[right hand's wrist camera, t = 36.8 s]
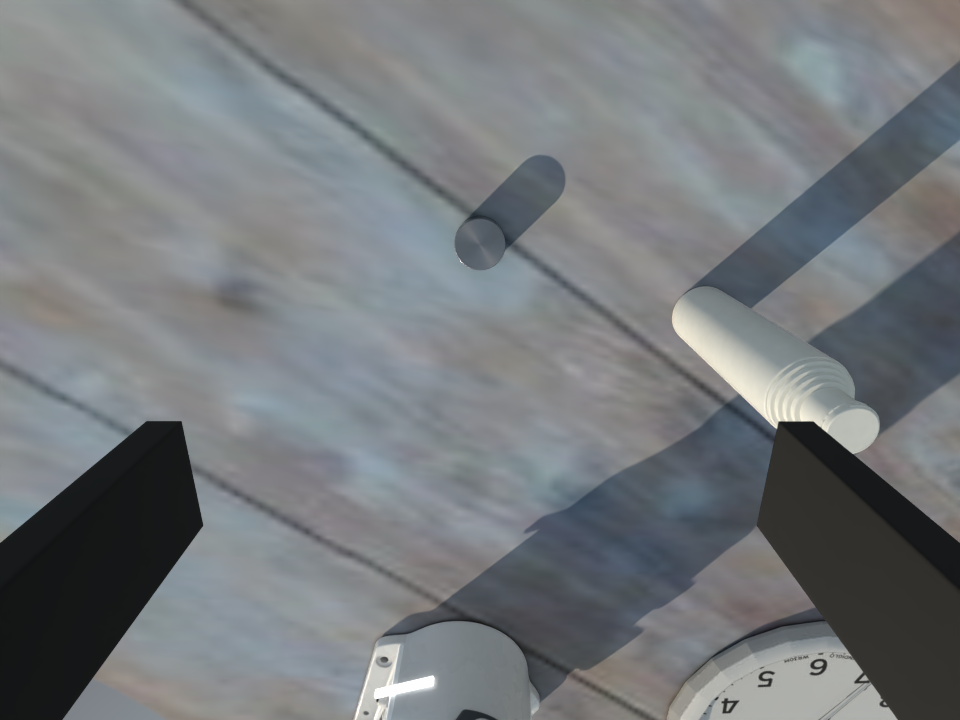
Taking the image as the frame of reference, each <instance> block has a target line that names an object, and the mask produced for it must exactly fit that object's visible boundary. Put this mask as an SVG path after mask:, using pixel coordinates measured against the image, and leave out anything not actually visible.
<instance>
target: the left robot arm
mask: <svg viewBox="0 0 960 720" xmlns="http://www.w3.org/2000/svg"><path fill="white" fill-rule="evenodd" d="M539 707H540V696H539V694H538V692H537V690H536V689H535V687H534V686H533V685H532V683H531V682H530V680H529V675H528V666H527V662H526V659H525V656H524V654H523V652H522V651H521V649H520V648H519V647H518V645H517V644H516V643H515V642H514V641H513V640H512V639H510V638H509V637H508V636H506V635H505V634H504V633H502V632H500V631H498V630H496V629H494V628H492V627H489V626H486V625H483V624H479V623H474V622H467V621H449V622H442V623H437V624H433V625H430V626H427V627H424V628H422V629H419V630H417V631H415V632H412V633H409V634H403V635H391V636H385V637H382V638H380V639H379V640H378V641H377V642H376V645H375V648H374V651H373V655H372V658H371V662H370V665H369V668H368V672H367V675H366V679H365V682H364V685H363V689H362V692H361V696H360V699H359V702H358V706H357V709H356V713H355V716H354V719H353V720H532V715H533V714H534V713H535V712H536V711H537V710H538V709H539Z"/></svg>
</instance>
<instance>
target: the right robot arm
mask: <svg viewBox="0 0 960 720" xmlns="http://www.w3.org/2000/svg"><path fill="white" fill-rule="evenodd" d="M202 527H203V522H202V517H201V512H200V508H199V503H198V498H197V493H196V488H195V484H194V479H193V474H192V469H191V464H190V460H189V455H188V450H187V445H186V441H185V436H184V431H183V426H182V421H146V422H145V423H144V424H143V425H142V426H140V427H139V428H138V429H137V430H136V431H134V432H133V433H132V434H131V435H130V436H128V437H127V438H126V439H125V440H124V441H122V442H121V443H120V444H119V445H118V446H116V447H115V448H114V449H113V450H112V451H110V452H109V453H108V454H107V455H106V456H104V457H103V458H102V459H101V460H100V461H98V462H97V463H96V464H95V465H94V466H92V467H91V468H90V469H89V470H87V471H86V472H85V473H84V474H83V475H81V476H80V477H79V478H78V479H77V480H75V481H74V482H73V483H72V484H71V485H69V486H68V487H67V488H66V489H65V490H63V491H62V492H61V493H60V494H59V495H57V496H56V497H55V498H54V499H53V500H51V501H50V502H49V503H48V504H47V505H45V506H44V507H43V508H42V509H41V510H39V511H38V512H37V513H36V514H35V515H33V516H32V517H31V518H30V519H29V520H27V521H26V522H25V523H24V524H23V525H21V526H20V527H19V528H18V529H17V530H15V531H14V532H13V533H12V534H11V535H9V536H8V537H7V538H6V539H5V540H3V541H2V542H1V543H0V720H62V719H63V718H64V717H65V715H66V714H67V713H68V711H69V710H70V708H71V707H72V706H73V704H74V703H75V702H76V700H77V699H78V697H79V696H80V695H81V693H82V692H83V691H84V689H85V688H86V686H87V685H88V684H89V682H90V681H91V680H92V678H93V677H94V675H95V674H96V673H97V671H98V670H99V669H100V667H101V666H102V664H103V663H104V662H105V660H106V659H107V657H108V656H109V655H110V653H111V652H112V651H113V649H114V648H115V646H116V645H117V644H118V642H119V641H120V640H121V638H122V637H123V635H124V634H125V633H126V631H127V630H128V629H129V627H130V626H131V624H132V623H133V622H134V620H135V619H136V618H137V616H138V615H139V613H140V612H141V611H142V609H143V608H144V606H145V605H146V604H147V602H148V601H149V600H150V598H151V597H152V595H153V594H154V593H155V591H156V590H157V589H158V587H159V586H160V584H161V583H162V582H163V580H164V579H165V578H166V576H167V575H168V573H169V572H170V571H171V569H172V568H173V566H174V565H175V564H176V562H177V561H178V560H179V558H180V557H181V555H182V554H183V553H184V551H185V550H186V549H187V547H188V546H189V544H190V543H191V542H192V540H193V539H194V538H195V536H196V535H197V533H198V532H199V531H200V529H201V528H202ZM757 527H758V528H759V529H760V531H761V532H762V533H763V535H764V536H765V538H766V539H767V540H768V542H769V543H770V544H771V546H772V547H773V549H774V550H775V551H776V553H777V554H778V555H779V557H780V558H781V560H782V561H783V562H784V564H785V565H786V566H787V568H788V569H789V571H790V572H791V573H792V575H793V576H794V578H795V579H796V580H797V582H798V583H799V584H800V586H801V587H802V589H803V590H804V591H805V593H806V594H807V595H808V597H809V598H810V600H811V601H812V602H813V604H814V605H815V606H816V608H817V609H818V611H819V612H820V613H821V615H822V616H823V618H824V619H825V620H826V622H827V623H828V624H829V626H830V627H831V629H832V630H833V631H834V633H835V634H836V635H837V637H838V638H839V640H840V641H841V642H842V644H843V645H844V646H845V648H846V649H847V651H848V652H849V653H850V655H851V656H852V657H853V659H854V660H855V662H856V663H857V664H858V666H859V667H860V669H861V670H862V671H863V673H864V674H865V675H866V677H867V678H868V680H869V681H870V682H871V684H872V685H873V686H874V688H875V689H876V691H877V692H878V693H879V695H880V696H881V697H882V699H883V700H884V702H885V703H886V704H887V706H888V707H889V708H890V710H891V711H892V713H893V714H894V715H895V717H896V718H897V720H960V543H959V542H958V541H957V540H955V539H954V538H953V537H952V536H951V535H949V534H948V533H947V532H946V531H945V530H943V529H942V528H941V527H940V526H939V525H937V524H936V523H935V522H934V521H933V520H931V519H930V518H929V517H928V516H927V515H925V514H924V513H923V512H922V511H921V510H919V509H918V508H917V507H916V506H915V505H913V504H912V503H911V502H910V501H909V500H907V499H906V498H905V497H904V496H903V495H901V494H900V493H899V492H898V491H897V490H895V489H894V488H893V487H892V486H891V485H889V484H888V483H887V482H886V481H885V480H883V479H882V478H881V477H880V476H879V475H877V474H876V473H875V472H874V471H872V470H871V469H870V468H869V467H868V466H866V465H865V464H864V463H863V462H862V461H860V460H859V459H858V458H857V457H856V456H854V455H853V454H852V453H851V452H850V451H848V450H847V449H846V448H845V447H844V446H842V445H841V444H840V443H839V442H838V441H836V440H835V439H834V438H833V437H832V436H830V435H829V434H828V433H827V432H826V431H824V430H823V429H822V428H821V427H820V426H818V425H817V424H816V423H815V422H814V421H778V426H777V431H776V436H775V441H774V445H773V450H772V455H771V460H770V464H769V469H768V474H767V479H766V484H765V488H764V493H763V498H762V503H761V508H760V512H759V517H758V522H757Z"/></svg>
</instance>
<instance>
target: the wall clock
mask: <svg viewBox="0 0 960 720" xmlns="http://www.w3.org/2000/svg"><path fill="white" fill-rule="evenodd" d="M666 720H897V718H896V717H895V715H894V714H893V713H892V711H891V710H890V708H889V707H888V706H887V704H886V703H885V702H884V700H883V699H882V697H881V696H880V695H879V693H878V692H877V691H876V689H875V688H874V686H873V685H872V684H871V682H870V681H869V680H868V678H867V677H866V675H865V674H864V673H863V671H862V670H861V669H860V667H859V666H858V664H857V663H856V662H855V660H854V659H853V657H852V656H851V655H850V653H849V652H848V651H847V649H846V648H845V646H844V645H843V644H842V642H841V641H840V640H839V638H838V637H837V635H836V634H835V633H834V631H833V630H832V629H831V627H830V626H829V624H828V623H827V622H826V621H819V622H812V623H805V624H798V625H791V626H783V627H780V628H777V629H774V630H771V631H768V632H765V633H762V634H759V635H756V636H753V637H750V638H747V639H744V640H743V641H741V642H739V643H737V644H736V645H734V646H732V647H730V648H729V649H727V650H725V651H723V652H722V653H720V654H718V655H716V656H715V657H713V658H711V659H710V660H709V661H708V662H707V663H706V664H705V665H704V666H702V667H701V668H700V669H699V670H698V671H697V672H696V673H695V674H694V675H692V676H691V677H690V678H689V679H688V680H687V681H686V682H685V684H684V685H683V687H682V689H681V690H680V692H679V693H678V695H677V696H676V698H675V699H674V701H673V702H672V704H671V705H670V708H669V712H668V715H667V719H666Z"/></svg>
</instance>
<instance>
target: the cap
mask: <svg viewBox="0 0 960 720" xmlns="http://www.w3.org/2000/svg"><path fill="white" fill-rule="evenodd" d="M454 245H455V252H456V254H457V257H458V258H459V260H460V261H461V262H462V263H463V264H464V265H465V266H467V267H469V268H471V269H475V270H486V269H489V268H491V267H493V266H495V265H496V264H497V263H498V262H499V261H500V260H501V258H502V256H503V254H504V251H505V238H504V234H503V231H502V229H501V227H500V226H499V225H498V224H497V223H496V222H495V221H494V220H492V219H491V218H488V217H484V216H476V217H472V218H469V219H468V220H466V221H465V222H464V223H462V225H461V226H460V227H459V229H458V231H457V234H456V237H455V244H454Z"/></svg>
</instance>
